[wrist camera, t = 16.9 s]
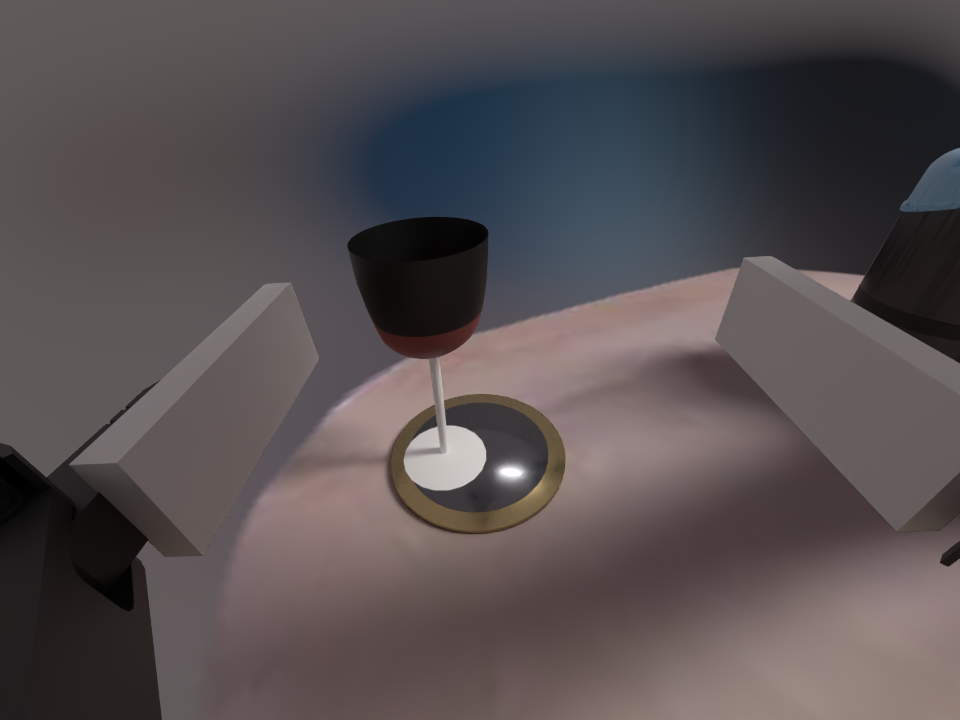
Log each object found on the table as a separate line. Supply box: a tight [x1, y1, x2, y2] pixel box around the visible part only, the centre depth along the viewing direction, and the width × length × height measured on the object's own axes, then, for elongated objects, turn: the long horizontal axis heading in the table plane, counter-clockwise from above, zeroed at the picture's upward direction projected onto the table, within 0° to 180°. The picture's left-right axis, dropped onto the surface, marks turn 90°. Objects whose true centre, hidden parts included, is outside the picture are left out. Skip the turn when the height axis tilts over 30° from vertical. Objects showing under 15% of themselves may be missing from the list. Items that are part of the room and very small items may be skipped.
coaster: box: [391, 394, 565, 534], centre depth 36 cm, size 16×16×1 cm
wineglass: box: [348, 217, 488, 490], centre depth 29 cm, size 8×9×20 cm
